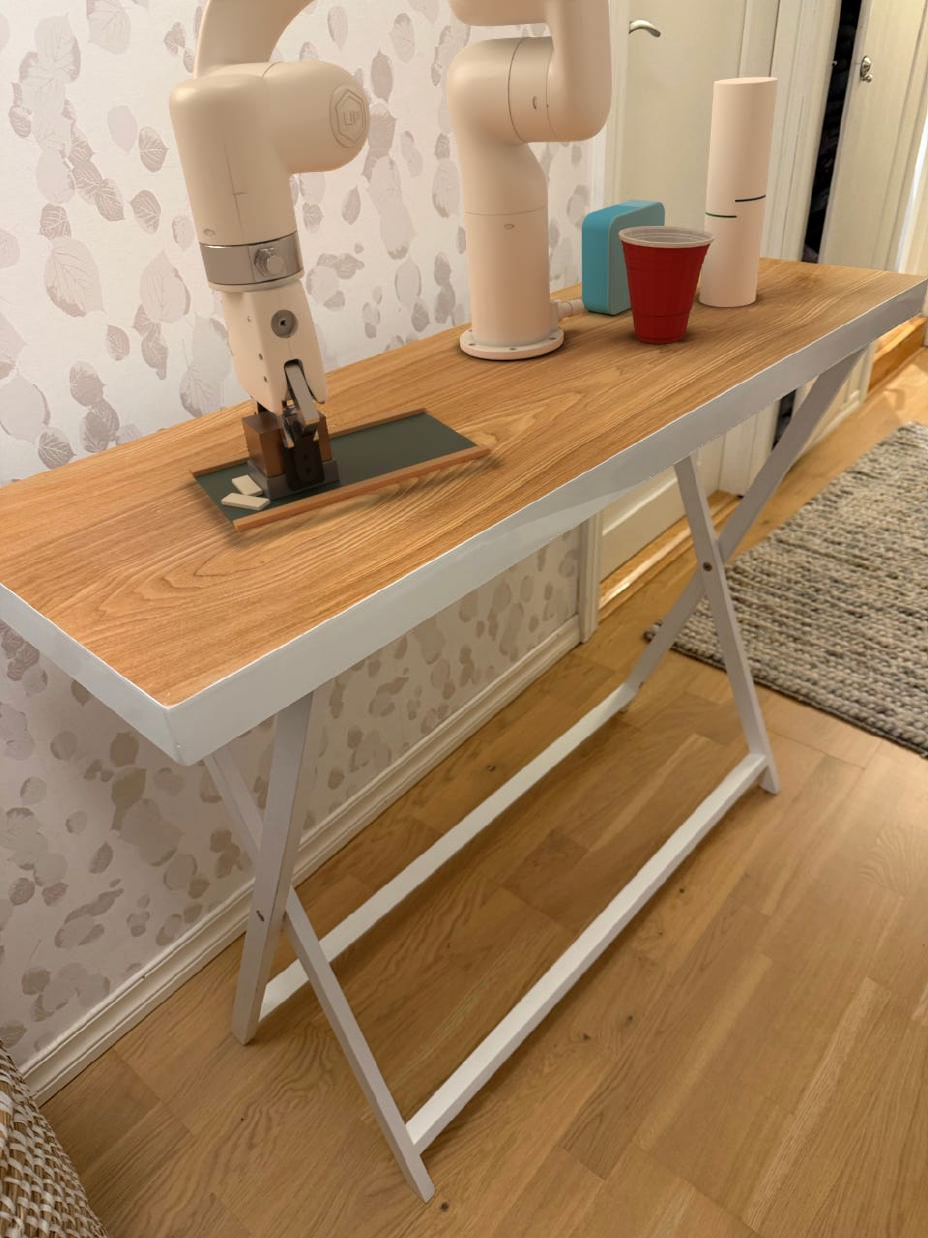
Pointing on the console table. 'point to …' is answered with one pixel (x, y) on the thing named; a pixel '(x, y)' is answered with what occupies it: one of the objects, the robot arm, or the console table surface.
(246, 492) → the chalk streak
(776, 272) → the console table surface
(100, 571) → the console table surface
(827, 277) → the console table surface
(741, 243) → the cylindrical container
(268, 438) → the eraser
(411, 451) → the chalkboard
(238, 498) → the chalk streak
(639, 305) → the plastic cup
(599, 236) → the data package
